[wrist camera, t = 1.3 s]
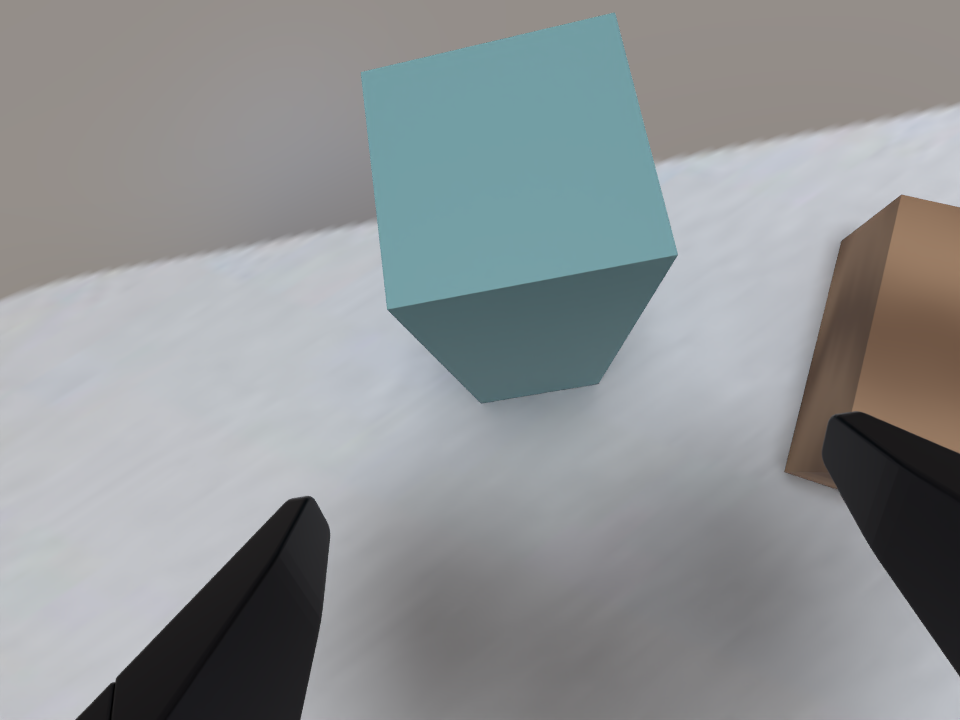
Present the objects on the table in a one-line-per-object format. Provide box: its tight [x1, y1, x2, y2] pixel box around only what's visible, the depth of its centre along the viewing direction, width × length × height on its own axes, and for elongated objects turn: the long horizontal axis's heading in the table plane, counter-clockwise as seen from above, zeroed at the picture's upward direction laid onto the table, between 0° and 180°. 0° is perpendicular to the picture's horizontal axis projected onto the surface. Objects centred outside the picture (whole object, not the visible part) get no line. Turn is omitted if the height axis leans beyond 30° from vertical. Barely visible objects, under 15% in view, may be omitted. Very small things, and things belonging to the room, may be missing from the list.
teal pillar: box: [361, 13, 678, 403], centre depth 15 cm, size 5×5×13 cm
